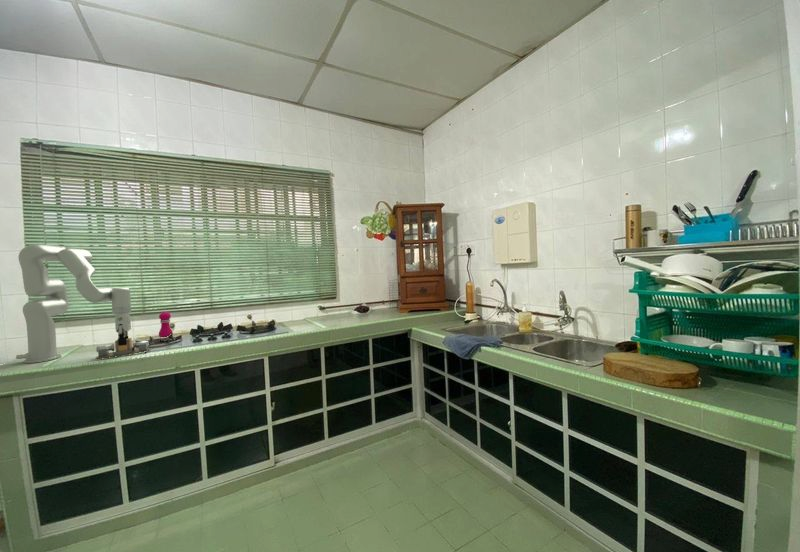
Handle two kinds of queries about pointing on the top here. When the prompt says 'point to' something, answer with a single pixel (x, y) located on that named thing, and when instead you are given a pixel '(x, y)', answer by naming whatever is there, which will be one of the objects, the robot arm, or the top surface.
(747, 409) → the top surface
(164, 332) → the pepper mill
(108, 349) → the shaft bench
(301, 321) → the top surface
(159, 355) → the top surface
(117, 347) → the block
